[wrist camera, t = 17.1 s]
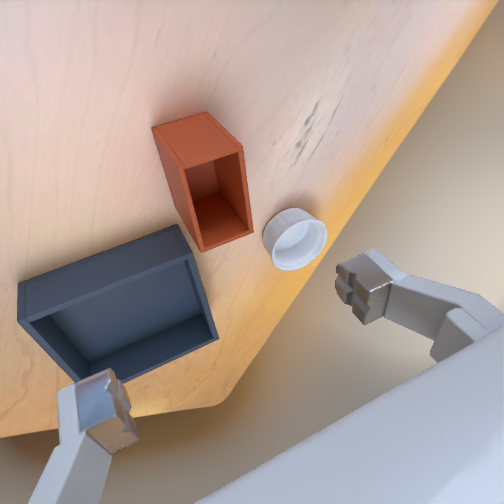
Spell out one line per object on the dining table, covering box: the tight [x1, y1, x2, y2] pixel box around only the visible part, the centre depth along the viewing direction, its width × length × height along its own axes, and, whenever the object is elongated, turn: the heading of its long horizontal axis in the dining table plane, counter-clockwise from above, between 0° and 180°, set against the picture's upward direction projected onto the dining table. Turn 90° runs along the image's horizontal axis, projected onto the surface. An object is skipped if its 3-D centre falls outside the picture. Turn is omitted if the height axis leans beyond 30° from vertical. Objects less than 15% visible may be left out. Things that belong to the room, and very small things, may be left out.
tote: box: [151, 112, 254, 253], centre depth 37 cm, size 6×10×9 cm, turn 8°
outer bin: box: [17, 225, 219, 384], centre depth 46 cm, size 19×18×6 cm
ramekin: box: [263, 208, 327, 271], centre depth 52 cm, size 9×9×4 cm
